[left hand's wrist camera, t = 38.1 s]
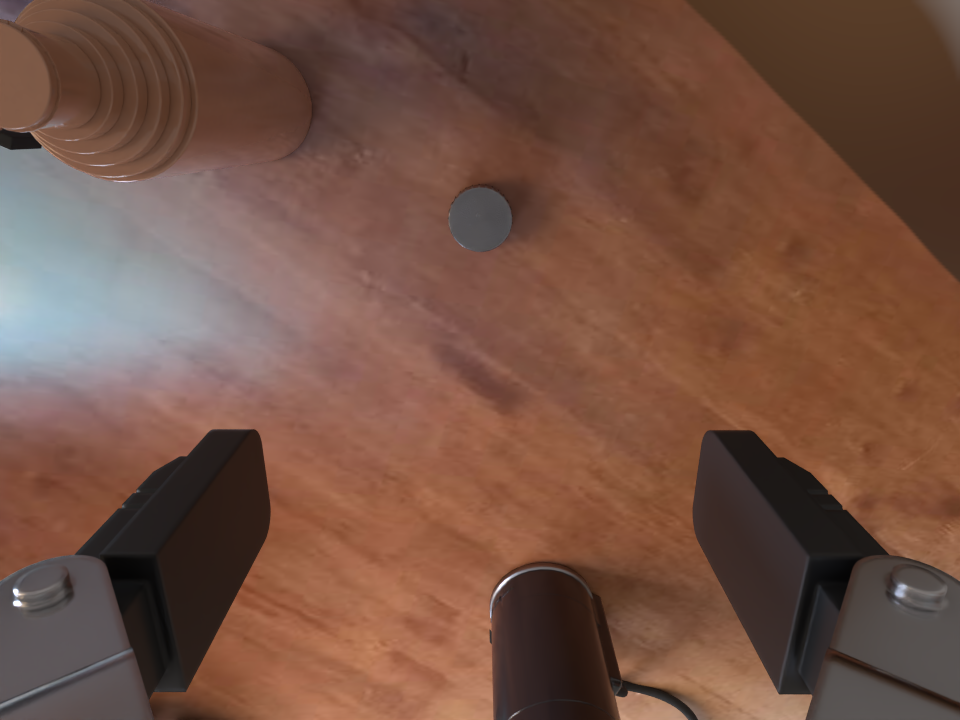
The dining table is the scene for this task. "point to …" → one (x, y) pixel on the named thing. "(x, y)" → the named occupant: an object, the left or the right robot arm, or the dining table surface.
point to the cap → (480, 218)
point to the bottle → (146, 90)
